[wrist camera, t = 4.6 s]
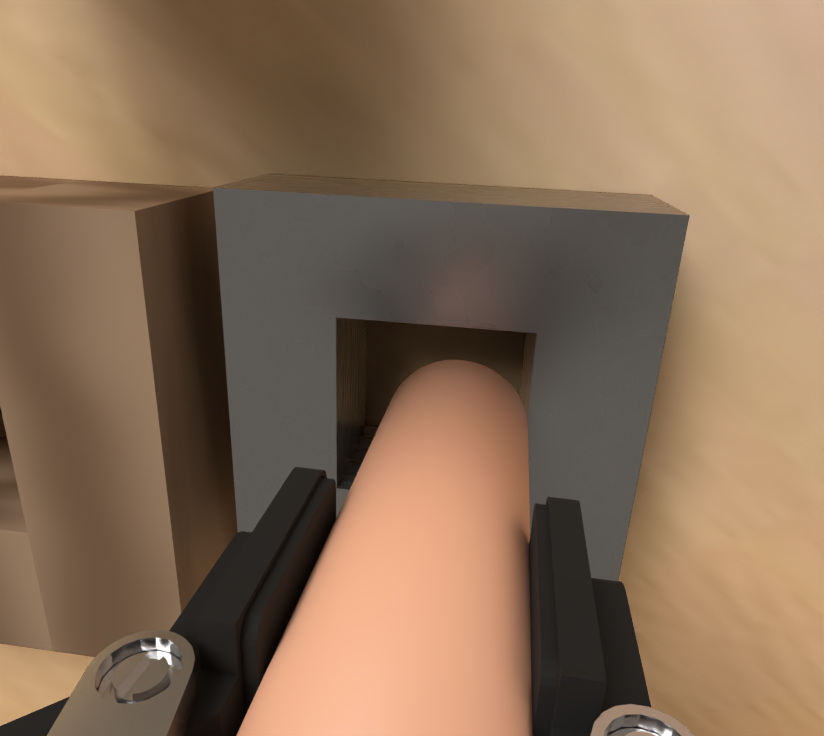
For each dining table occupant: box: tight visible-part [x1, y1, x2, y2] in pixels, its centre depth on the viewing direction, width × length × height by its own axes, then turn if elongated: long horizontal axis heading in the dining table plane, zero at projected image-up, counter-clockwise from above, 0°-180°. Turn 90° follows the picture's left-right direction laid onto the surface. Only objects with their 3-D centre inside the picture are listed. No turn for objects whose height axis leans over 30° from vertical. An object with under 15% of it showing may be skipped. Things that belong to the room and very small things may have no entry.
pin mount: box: [213, 174, 689, 581], centre depth 19 cm, size 11×11×4 cm
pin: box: [236, 360, 533, 736], centre depth 11 cm, size 4×4×12 cm
